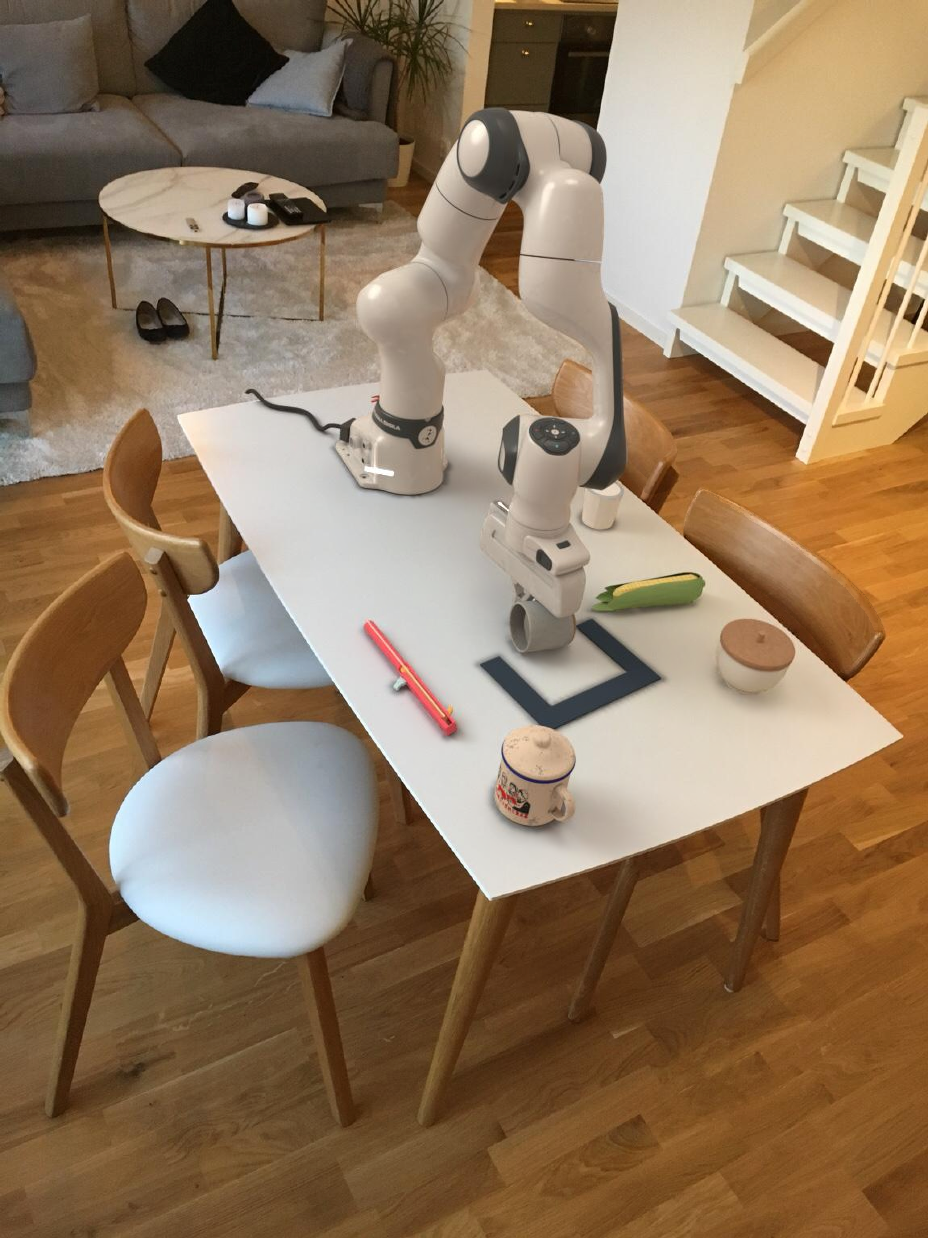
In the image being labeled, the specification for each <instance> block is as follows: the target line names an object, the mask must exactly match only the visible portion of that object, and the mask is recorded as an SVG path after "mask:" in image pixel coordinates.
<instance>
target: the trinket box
mask: <svg viewBox="0 0 928 1238" xmlns="http://www.w3.org/2000/svg"><path fill="white" fill-rule="evenodd" d="M720 632H721V633H720V636H719V640H718V644H717V648H716V655H715V660H716V662H715V663H716V668H717V671H718V673H719V675H720V676H721V678H722V679H723V681H724V683H725V684H726V686H728V687H729V689H731V690H732V691H734V692H736V693H738V694H742V695H748V696H749V695H751V696H752V695H758V694H760V693H764V692H767V691H769V690H771V689H772V688H774V687H776V686H777V685H778V684H779V683H780V682H781V681H782V679H783V678H784V677H785V675H786V674H787V672H788V670H789V668H790V666H791V664H792V663H793V661H794V659H795V656H796V647H795V644H794V642H793V640H792V639H791V638H790V637H789V636H788V634H787V633H786V632H784V631H783V630H782V629H780V628H779V627H777V626H775V625H773V624H771V623H769V622H767V621H764V620H759V619H755V618H738V619H734V620H731V621H729V622H727V623H726V624H725V625H724V626H723V628H722V630H721V631H720Z"/></svg>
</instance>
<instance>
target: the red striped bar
mask: <svg viewBox="0 0 928 1238" xmlns="http://www.w3.org/2000/svg"><path fill="white" fill-rule="evenodd" d="M363 629H364V631H366V633H367V634H368V636H369V637H370V638H371V639H372V640H373V642H374V643H375V644H376V646H377V647H378V648H379V649H380V650H381V652H382V653H383V654H384V655H385V657H386V658H387V659H388V660H389V662H390V663H391V664H392V665H393V667H394V668H395V669H396V672H397V673H398V674H399V678H397V681H396V682H395V683H394V684H393V686H392V687H393V689H394V690H395V691H397V692H398V691H399V690H400V688H402V687H403V686H407V687H408V689H409V690H410V691H411V693H412V694H413V695H414V696H415V698H416V699H417V700H418V701H419V702H420V704H421V705H422V706H423V707H424V708H425V710H426V711H427V712H428V713H429V715H430V716H431V718H433V720H434V721H435V723H437V725H438V727H440V729H441V730H442V731H443V732H444V734H445V735H446V736H447V737H449V736H450V735H451V734H453V733H454V732H456V731H457V730H458V726H457V722H456V720H454V718H453V717H452V716H451V715H452V713H453V705H452V704H449V707H448V708H447V709H446V708H445V707H444V706H443V705H442V704H441V702H440V701H439V700H438V698H437V697H436V696H435V695H434V693H433V692H431V689H429V687H428V686H427V685H426V684H425V682H424V681H423V680H422V679H421V678H420V677H419V676H418V674H417V673H416V671H415V669H414V668H413V667H412V666H411V665H410V663H409V662H408V661H407V660H405V659H404V658H403V657H402V655H401V654H400V653H399V651H398V650H397V649H396V648H395V647H394V645H393V644H392V643H391V642H390V641H389V639H388V638H387V636H385V634H384V633H383V632H382V631H381V629H380V628H379V627H378V625H377V624H376V623H375V622H374V621H373V620H368V618H366V619H365V623H364V624H363ZM448 723H449V724H448Z"/></svg>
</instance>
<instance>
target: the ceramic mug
mask: <svg viewBox="0 0 928 1238" xmlns="http://www.w3.org/2000/svg"><path fill="white" fill-rule="evenodd" d="M576 619H577V618H576V613H574V614H572V615H570V616H567V617H564V618H561V619H558V618H556V617H555V616H554V615H553V614H552V613H551V612H550V611H549V610H547V609H546V608H545V607H544V606H543V605H542V604H541V603H540V602H539V601H537V600H536V599H535V600H534V599H533V600H532V601H518V602H516V603H514V602H513V603H512V606H511V608H510V611H509V616H508V626H509V634H510V638H511V641H512V644H513V647H514V648H515V649H516V650H517V651H518V652H519V653H521V654H526V653H532V652H539V651H544V650H552V649H559V648H564V647H567V646H569V645H570V644H572V642H573V641H574V638H575V636H576V632H577V628H576V625H577V620H576Z"/></svg>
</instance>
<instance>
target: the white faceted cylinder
mask: <svg viewBox="0 0 928 1238" xmlns="http://www.w3.org/2000/svg"><path fill="white" fill-rule="evenodd" d="M624 495H625V488H624V487H623V486H622V484H621V483H619V482H618V481H616V482H615V483H613V484H612V485H611V486H609V487H607V488H606V489H604V490H596V489H590V488H585V489H584V497H583V505H582V514H581V521H582V522H583V524H584V525H586V526H587V527H589V528H592V529H595V530H607V529H609V528H611V527H612V526H613V524H614V521H615V519H616V516H617V513H618V510H619V508H620V505H621V502H622V500H623V497H624Z"/></svg>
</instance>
